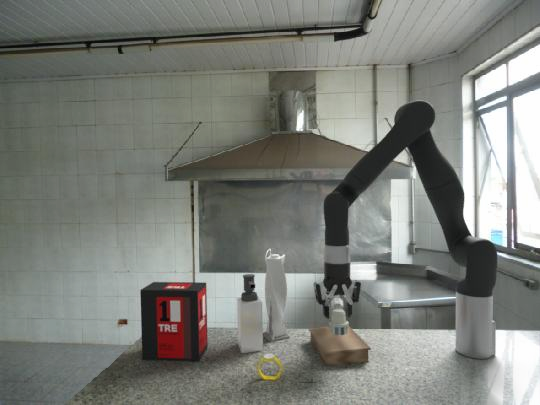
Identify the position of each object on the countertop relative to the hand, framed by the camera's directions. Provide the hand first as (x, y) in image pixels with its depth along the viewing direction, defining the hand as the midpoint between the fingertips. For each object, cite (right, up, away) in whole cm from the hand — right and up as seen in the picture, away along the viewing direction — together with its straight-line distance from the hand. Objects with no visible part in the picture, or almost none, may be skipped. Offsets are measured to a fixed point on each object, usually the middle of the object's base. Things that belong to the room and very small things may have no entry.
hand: (337, 316), depth 106 cm
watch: (-20, -11, -15) cm, 27 cm away
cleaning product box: (-47, -11, 0) cm, 49 cm away
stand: (0, -10, 0) cm, 10 cm away
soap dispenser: (-26, -11, +3) cm, 28 cm away
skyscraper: (-18, -10, +13) cm, 24 cm away
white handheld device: (0, -1, 0) cm, 1 cm away
